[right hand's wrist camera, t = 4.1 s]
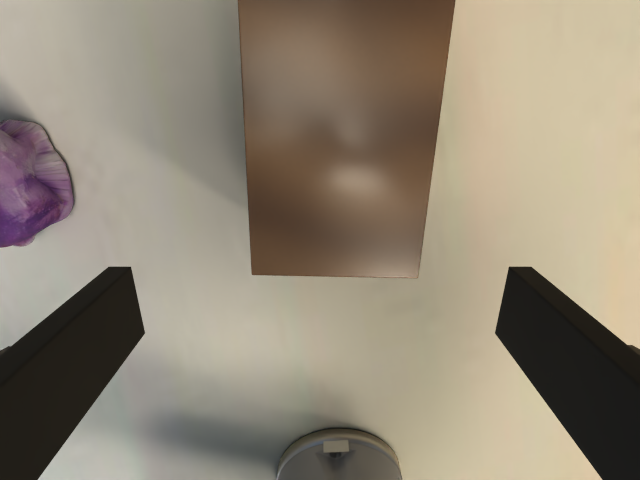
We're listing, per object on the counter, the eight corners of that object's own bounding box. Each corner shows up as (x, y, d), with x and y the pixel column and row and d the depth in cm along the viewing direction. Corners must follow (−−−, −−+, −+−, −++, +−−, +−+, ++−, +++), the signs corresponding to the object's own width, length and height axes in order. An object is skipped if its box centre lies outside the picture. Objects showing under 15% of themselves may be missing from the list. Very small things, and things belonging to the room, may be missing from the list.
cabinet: (263, -51, 26) (230, -135, 17) (417, -46, 26) (473, -127, 17) (270, 224, 34) (251, 275, 24) (390, 227, 34) (418, 278, 25)
